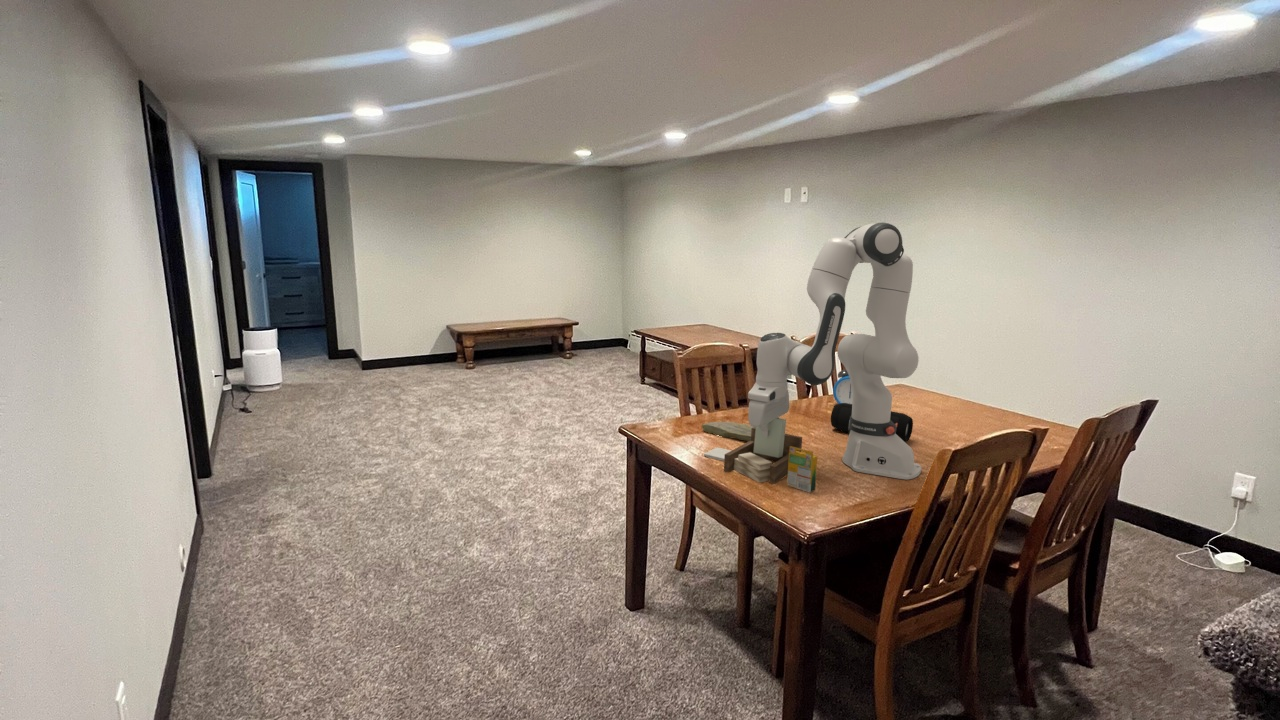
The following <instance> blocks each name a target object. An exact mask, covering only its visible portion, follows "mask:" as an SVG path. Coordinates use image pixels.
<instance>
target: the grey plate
mask: <svg viewBox="0 0 1280 720" xmlns="http://www.w3.org/2000/svg"><path fill="white" fill-rule="evenodd" d="M730 451H732V449H731V450H730V449H725V448H722V447H718V446H716V447H714V448H713V449H711V450H709V451H706V452H705V453H703V457H705V456H706V457H705V458H709V457H710V459H713V458H714V459H713V460H718V461H722V462H724V458H725V454H726V453H728V452H730Z"/></svg>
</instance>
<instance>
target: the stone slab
mask: <svg viewBox="0 0 1280 720" xmlns="http://www.w3.org/2000/svg"><path fill="white" fill-rule="evenodd" d="M753 427H754V426H751V425H750V424H747V423H738V422H734V421H715V422H714V421H710V422H707V423H706V422H705V423H703V424H702V425H701V428H702V429H703V431H704V433H707V432H708V433H707V434H711V433H713V435H714V434H715V436H716V435H719V436H722V437H721V438H727V437H729V438H728V439H732V438H733V439H737V440H741V441H745V442H749V441H751V428H753ZM719 436H718V437H719Z"/></svg>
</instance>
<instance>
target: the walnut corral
mask: <svg viewBox="0 0 1280 720" xmlns="http://www.w3.org/2000/svg"><path fill="white" fill-rule="evenodd" d="M755 431H756V427H753V428H751V441H749V442H748V441H746V442H745V443H743V444H741V445H740V446H738V447H736V448H734V449H731V451H730V452H728V453H726V454H725V458H724V461H723V471H724V472H728V473H730V471H733V470H734V460H735V458H738V455H739V454H744V453H749V452H751V453H753V454H755V455H757V456H759V457H761V458H764V459H766V460H768V461H770V462H774V463H772V465H771V466H770V480H769V481H768V482H769V483H770V484H773V485H774V484H776V483H778V482H779V481H780V480H782V479H783V478H785V477H787V475H788V461H789V448H790V446H792V447H796V448H800V449H803V448H802V447H803V437H802V436H798V435H793V434H788V433H785V438H784V447H783V456H782V457H779V458H777V457H772V456H768V455H763V454H758V453H754V441H755ZM796 451H799V450H796ZM799 452H802V451H801V450H800V451H799Z"/></svg>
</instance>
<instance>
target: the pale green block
mask: <svg viewBox="0 0 1280 720" xmlns="http://www.w3.org/2000/svg"><path fill="white" fill-rule="evenodd" d="M786 427H787V419H785V418H781V417H779V418H776V419H774V420H773V421H771V422H770V423H769V426H768V430H770V432H769V436H767V437H763V436H762V430H761V427H760V428H759V427H756V431H755V441H754V453H758V454H763V455H768V456H772V457H777V458H779V457H782V456H783V447H784V438H785V434H786Z"/></svg>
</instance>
